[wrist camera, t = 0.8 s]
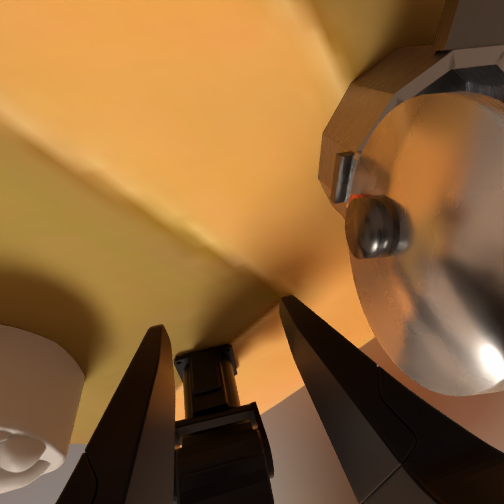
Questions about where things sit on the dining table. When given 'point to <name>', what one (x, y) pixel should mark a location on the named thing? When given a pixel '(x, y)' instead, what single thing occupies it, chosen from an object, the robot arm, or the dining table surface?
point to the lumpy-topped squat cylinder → (35, 406)
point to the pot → (415, 84)
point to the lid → (434, 239)
